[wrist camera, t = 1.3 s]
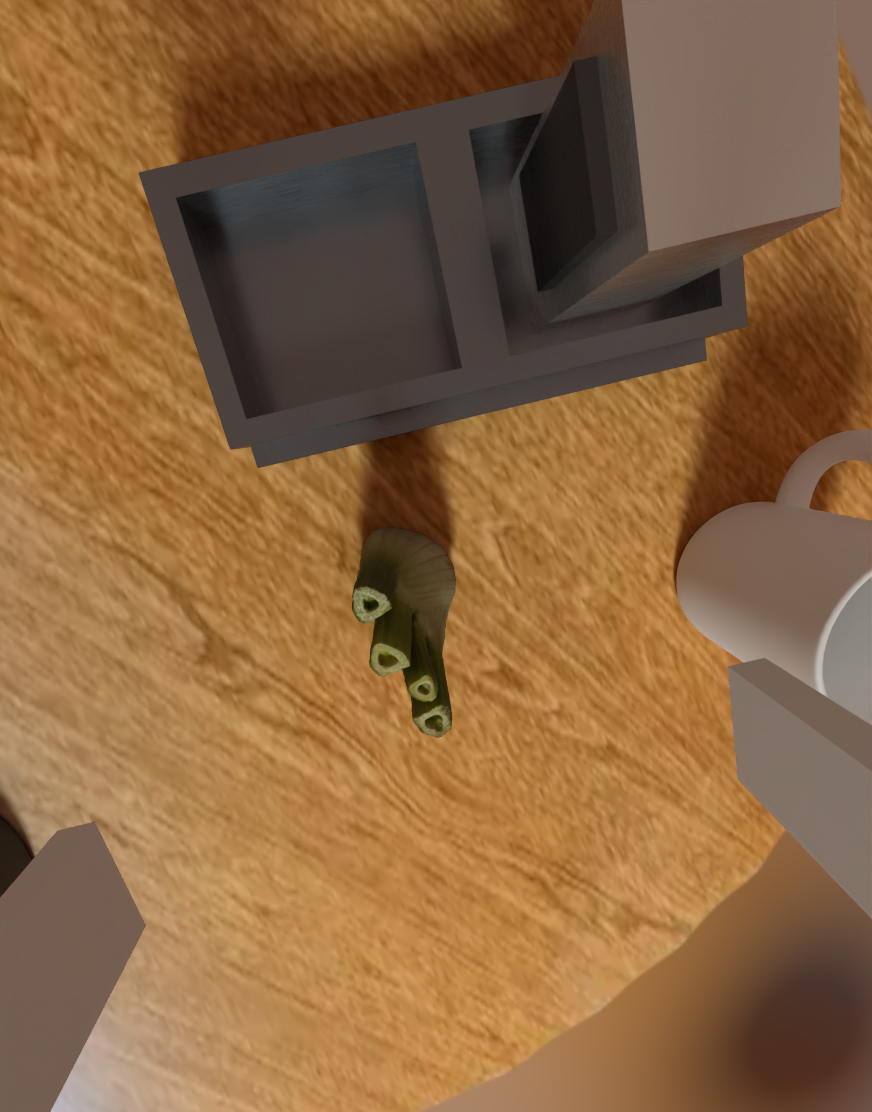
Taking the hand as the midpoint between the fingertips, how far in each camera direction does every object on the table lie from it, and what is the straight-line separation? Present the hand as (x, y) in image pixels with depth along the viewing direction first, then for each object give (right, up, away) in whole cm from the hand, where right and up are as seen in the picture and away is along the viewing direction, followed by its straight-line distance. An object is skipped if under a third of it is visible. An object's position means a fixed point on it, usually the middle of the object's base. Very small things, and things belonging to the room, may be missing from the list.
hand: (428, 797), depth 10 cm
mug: (+18, +6, +18) cm, 26 cm away
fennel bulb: (-1, +4, +17) cm, 18 cm away
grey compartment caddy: (+1, +18, +14) cm, 22 cm away
